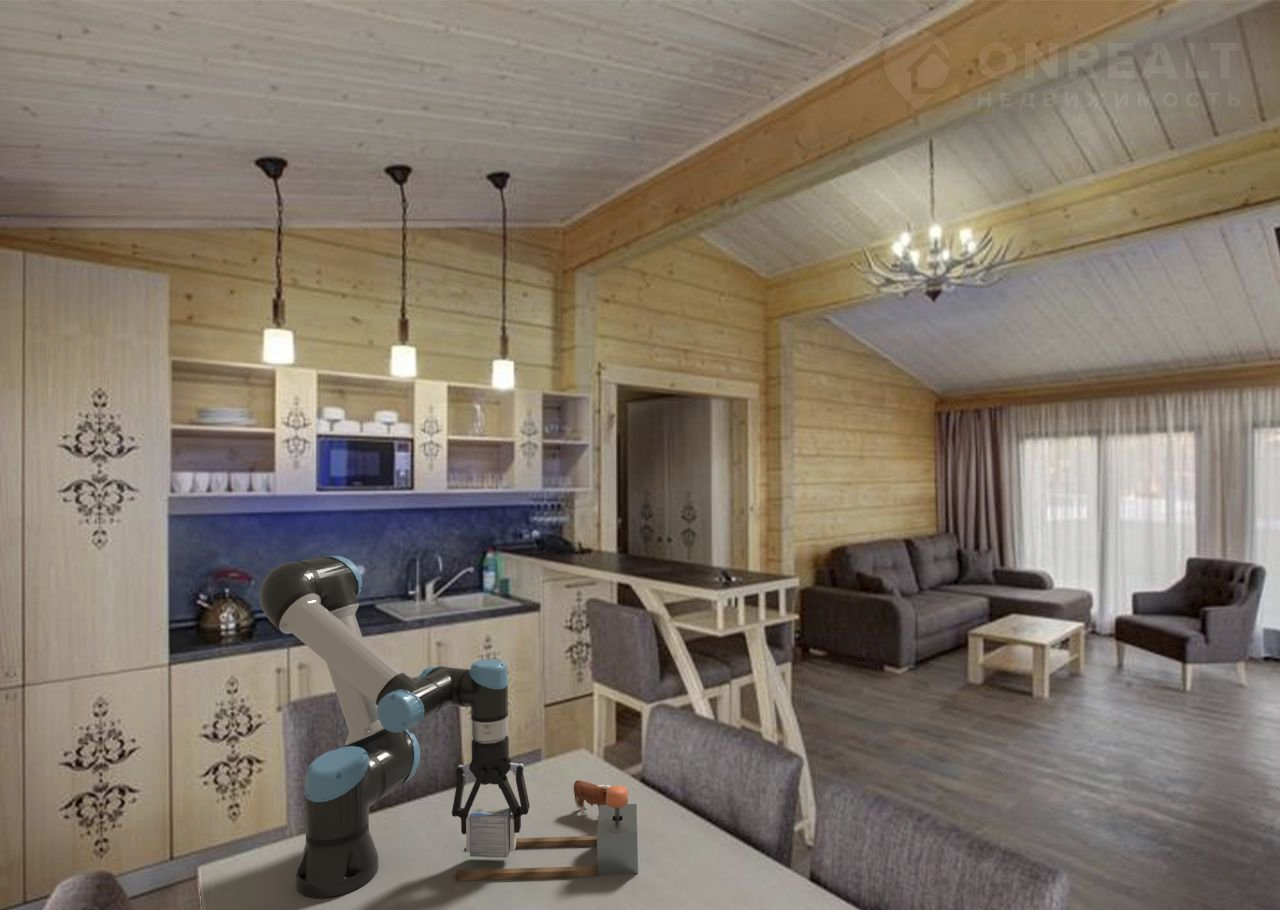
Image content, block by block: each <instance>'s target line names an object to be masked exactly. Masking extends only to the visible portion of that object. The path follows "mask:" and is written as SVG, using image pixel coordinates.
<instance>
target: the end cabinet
mask: <svg viewBox="0 0 1280 910" xmlns="http://www.w3.org/2000/svg"><path fill="white" fill-rule="evenodd" d="M637 809H638V807H637V803H627V805H625V806H623V807H620V821H615V808H613V807H610V806H608V805H599V808H598V816H597V829H596V836H597V845H596V853H597V856H596V859H597V861H596V862H597V865H596V866H597V867H598V876H600V875H601V876H602V875H603V876H604V875H605V876H606V875H632V874H636V875H637V874H639V863H638V861H639V855H638V853H639V852H638V811H637Z"/></svg>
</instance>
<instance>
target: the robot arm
mask: <svg viewBox="0 0 1280 910" xmlns="http://www.w3.org/2000/svg"><path fill="white" fill-rule="evenodd" d="M362 587H363V579H362V575H361V572H360V570H359V568H358V567H357V565H356V564H355V563H354V562H353V561H352V560H350V559H348V558H346V557H345V556H339V555H331V556H330V555H323V556H319V557H314V558H309V559H302V560H298V561H290V562H285V563H283V564H280V565H277V566H276V567H275V568H273V569H272V570H271V571H270V572H269V573H267V574H266V576H265V577H264V579H263V581H262V583H261V586H260V590H259V601H260V606H261V609H262V611H263V613H264V615H265V617H267V619H268V620H269V622H270V623H272V625H274V627H276V629H277V630H279V631H280V632H282V633H283V634H286V635H289V634H293V636H295V637H296V638H297V639H299V640H300V642H302V643H303V644H304V645H305V646H306V647H308V648H309V649H310V650H311V651H312V652H314V653H315V654H316V655H317V656H319V658H321V659H322V660H323V661H325V663H326V666H327V669H328V672H329V675H330V677H331V680H332V684H333V687H334V690H335V693H336V696H337V699H338V702H339V705H340V708H341V711H342V715H343V717H344V719H345V724H346V726H347V729H348V736H347V738H346V741H345V743H344V746H342V747H339V748H337V749H335V750H334V749H331V750H329V751H327V752H325V753H322V754H321V755H320V756H317V757H316V758H315V759H314V760H313V761H312V762H311V763H310V764H309V766H308V768H307V770H306V773H305V784H304V788H303V790H304V791H303V792H304V811H305V812H304V816H305V818H304V819H305V845H304V847H303V851H302V854H301V857H300V860H299V864H298V867H297V870H296V874H295V876H296V877H295V886H296V890H297V891H298V892H299V893H300V894H301V895H303V896H306V897H309V898H316V899H318V898H319V899H321V898H332V897H337V896H341V895H346V894H347V893H350V892H353V891H355V890H358V889H359V888H361V887H363V886H364V885H366V884H368V883H369V882H370V881H371V880H372V879H374V877H375V876H376V874H377V873H378V871H379V853H378V851H377V847H376V845H375V842H374V840H373V837H372V835H371V832H370V823H369V819H370V816H369V814H370V813H369V808H370V807H372V806H373V805H374V804H376V803H377V802H378V801H380V800H382V799H383V798H384V797H386V796H387V795H389V794H391V793H392V792H394V791H396V790H398V789H400V788H402V787H403V786H404V785H405V784H406V782H408V781H409V780H411V779H412V777H414V775H415V774H416V772H417V770H418V767H419V764H420V760H421V749H420V744H419V741H418V739H417V738H416V737H417V736H415V734H414V733H413V732H410V730H409V729H411V728H414V727H416V726H417V725H419V723H421V722H422V721H425V720H426V719H428V718H430V717H431V716H434V715H436V714H438V713H439V712H441V711H443V710H445V709H446V708H448V707H452V706H453V707H463V708H470V715H471V716H470V717H471V718H470V721H471V722H470V724H471V725H470V726H471V727H470V728H471V729H470V730H471V731H470V732H471V738H472V740H471V762H470V763H467V764H465V763H464V762H463V763H459V764H458V766H457V768H456V770H455V773H456V780H457V781H456V785H455V791H454V798H453V804H452V810H451V815H452V817H454V818H455V817H458V818H460V828H461V830H460V831H461V834H462V835H466V836H465V839H466V841H465V843H466V844H465V845H466V850H465V851H466V853H470V824H469V815H470V814H471V813H469V812H470V810H471V808H472V806H473V804H474V802H475V799H476V796H477V794H478V792H479V790H480V787H481V785H482V786H483V785H484V786H486V785H497V786H498V788H499V789H500V790H501V793H502V795H503V796H504V797H503V798H504V799H505V801H506V803H507V806H509V808H510V810H511V812H512V814H511V817H510V852H515V849H516V848H515V846H516V838H517V833H520V831H521V828H522V824H521V823H522V816H523V815H524V816H525V815H527V814H529V810H530V802H529V801H530V800H529V797H528V796H529V795H528V790H527V786H526V780H525V776H524V769H525V763H524V761H519V763H517V762H512V760H511V759H510V753H509V752H510V746H509V745H510V744H509V741H510V739H509V738H510V737H509V736H508V735H509V734H510V733H509V727H510V726H509V709H508V708H509V704H508V703H509V702H508V701H509V683H510V682H509V679H508V677H509V675H508V666H507V664H506V662H505V661H503V660H502V659H500V658H499V659H498V658H484V659H479V660H476V661H474V662H473V663H472V664H471V666H470V669H468V668H459V667H448V666H444V665H438V666H428V667H426V668H424V669H423V670H422V672H421V673H420V674H419V676H418V678H417V680H413V679H412V678H411V677H410V676H409V675H407V674H406V673H405V672H403V671H402V670H401V669H400V668H398V667H397V666H396V665H395V664H394V663H393V662H391V661H390V660H389V659H388V658H386V656H384V655H383V654H382V653H380V652H379V651H378V650H377V649H376V648H375V647H373V646H372V645H371V644H369V643H368V642H367V641H366V640H365V639H364V638H363V635H362V632H361V629H360V626H359V622H358V620H357V616H356V613H357V611H358V609H359V606H360V604H359V603H360V602H359V600H358V597H359V595H360V594H361V591H362V589H361V588H362ZM510 770H511V772H512V774H513V775H514V776H515V783H516V787H517V789H516V790H517V792H518V797H519V798H518V799H519V801H518V799H517V797H516V795H515V793H514V791H513V789H512V787H511V785H510V782H509V778H508V776H507V774H508V772H509V771H510ZM469 771H470V773H472V775H473V776H474V777H475V781H474V784H473V786H472V788H471V790H470V793H469V796H468V798H467V800H466V802H465V804H464V807H462V800H463V794H464V788H465V784H466V779H467V776H468V774H469ZM519 802H520V804H519Z"/></svg>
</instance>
